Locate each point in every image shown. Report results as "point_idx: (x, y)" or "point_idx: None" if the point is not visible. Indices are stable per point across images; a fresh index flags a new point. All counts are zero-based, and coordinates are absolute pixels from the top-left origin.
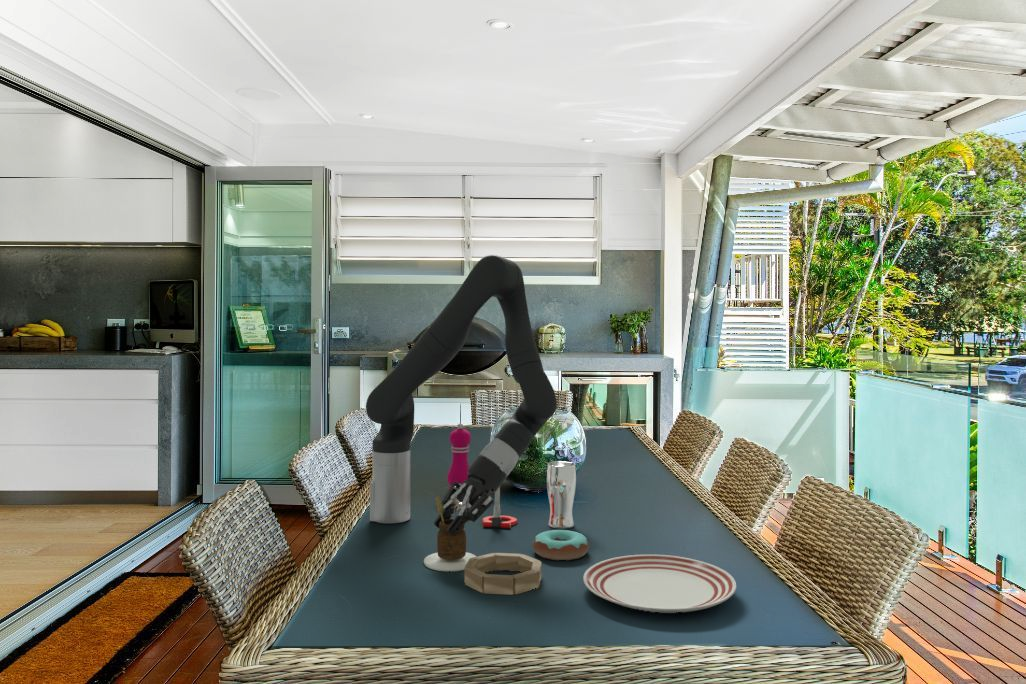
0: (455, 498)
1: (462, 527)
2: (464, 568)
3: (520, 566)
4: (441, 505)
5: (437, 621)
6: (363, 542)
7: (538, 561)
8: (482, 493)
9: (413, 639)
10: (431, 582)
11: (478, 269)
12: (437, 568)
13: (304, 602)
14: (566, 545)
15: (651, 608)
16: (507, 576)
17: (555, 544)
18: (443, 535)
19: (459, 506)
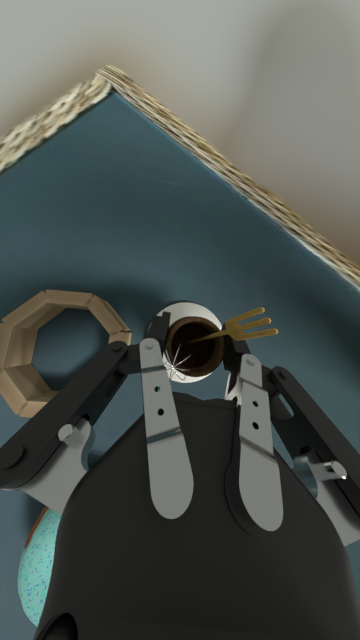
0: (238, 393)
1: (166, 355)
2: (95, 295)
3: None
4: (245, 338)
5: (42, 210)
6: (334, 301)
7: (22, 412)
8: (76, 488)
9: (28, 170)
10: (141, 274)
11: None
12: (171, 305)
13: (186, 152)
14: (33, 533)
15: None
16: (14, 318)
17: (52, 515)
18: (184, 317)
19: (225, 399)
